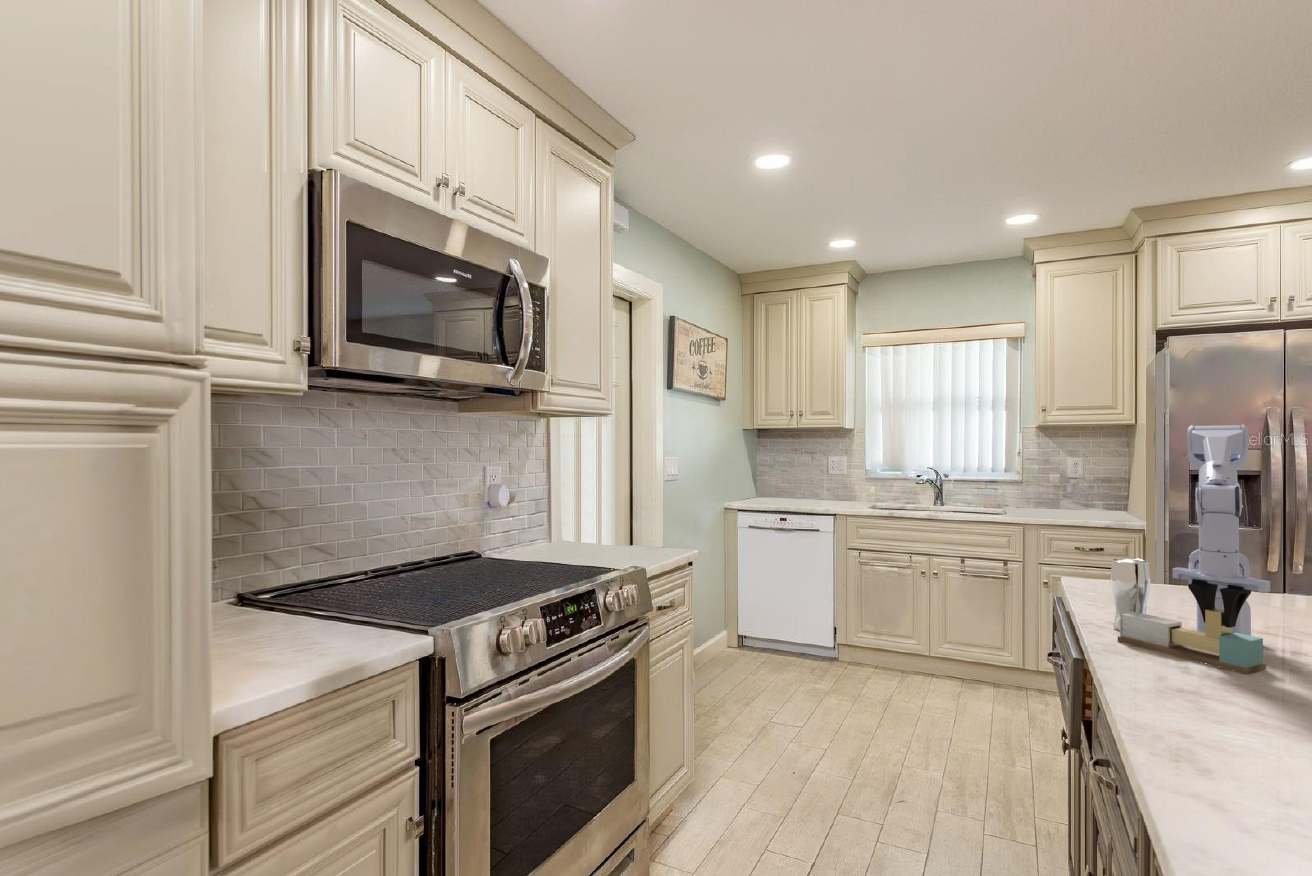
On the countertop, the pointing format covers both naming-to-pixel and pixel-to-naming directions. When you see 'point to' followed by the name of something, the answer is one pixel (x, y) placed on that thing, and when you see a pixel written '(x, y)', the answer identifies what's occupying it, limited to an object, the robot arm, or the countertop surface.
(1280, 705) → the countertop surface
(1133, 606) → the beer glass
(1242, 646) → the teal rectangular block
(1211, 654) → the board
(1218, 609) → the wooden l-shaped block
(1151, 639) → the white rectangular block
